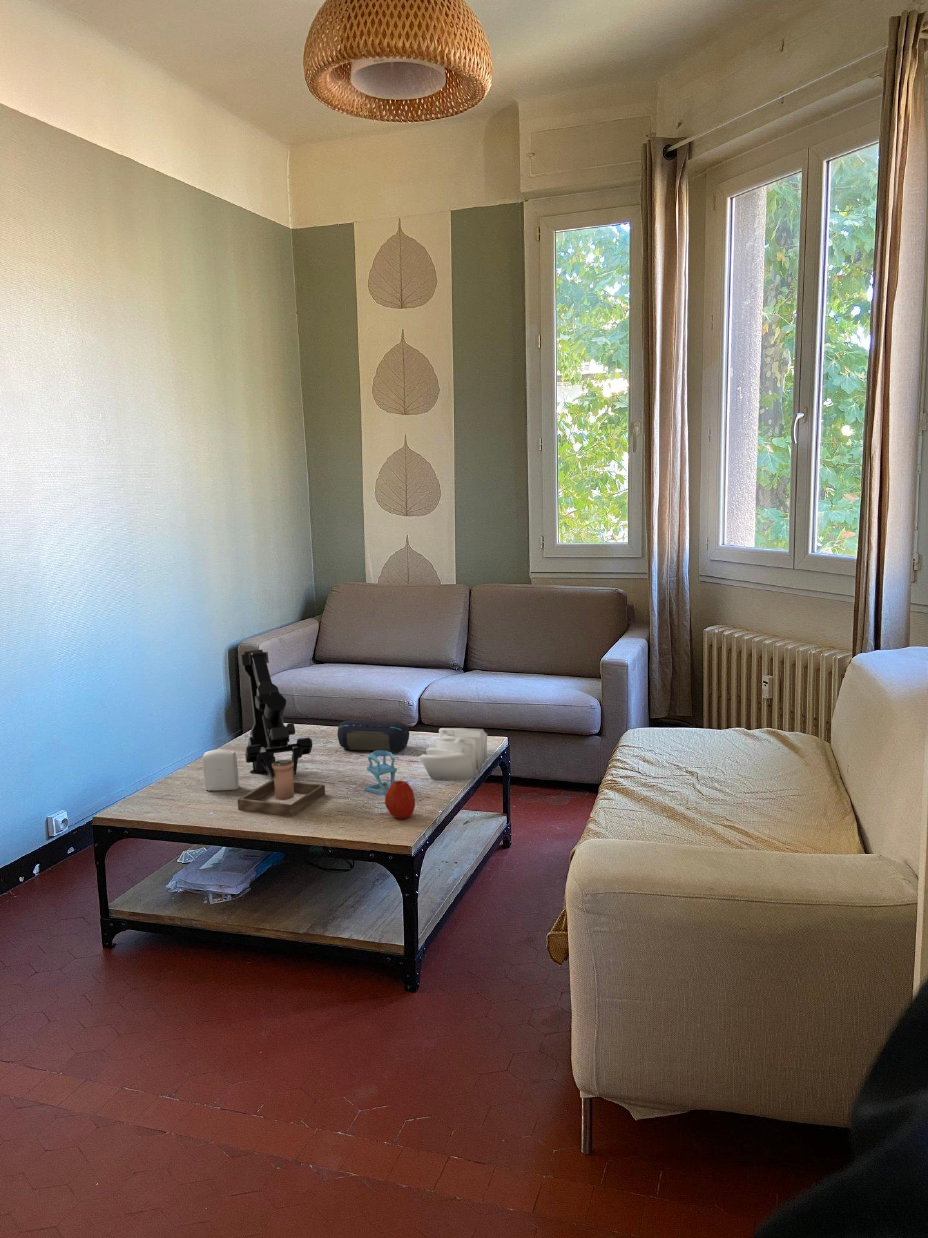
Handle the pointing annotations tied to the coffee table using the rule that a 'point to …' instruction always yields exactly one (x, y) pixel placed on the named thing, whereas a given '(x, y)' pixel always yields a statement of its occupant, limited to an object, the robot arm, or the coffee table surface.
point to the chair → (381, 771)
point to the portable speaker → (373, 735)
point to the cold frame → (252, 804)
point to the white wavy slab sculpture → (456, 754)
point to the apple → (400, 800)
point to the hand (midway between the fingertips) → (284, 776)
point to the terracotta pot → (283, 779)
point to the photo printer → (220, 770)
